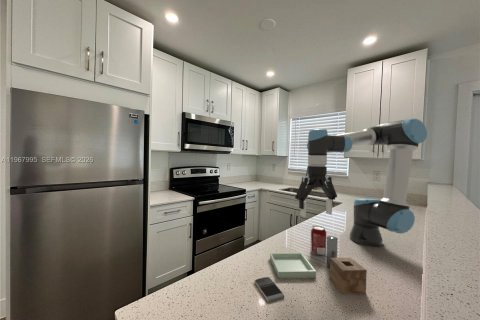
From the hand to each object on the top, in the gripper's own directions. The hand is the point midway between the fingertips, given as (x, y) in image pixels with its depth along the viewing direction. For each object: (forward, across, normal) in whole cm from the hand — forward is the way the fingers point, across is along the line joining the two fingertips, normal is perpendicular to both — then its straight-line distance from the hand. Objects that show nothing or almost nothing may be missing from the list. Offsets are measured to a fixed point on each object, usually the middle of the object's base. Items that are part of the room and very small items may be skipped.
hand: (316, 215), depth 83 cm
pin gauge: (+20, -4, +5) cm, 21 cm away
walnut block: (+20, 0, +16) cm, 26 cm away
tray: (+20, +13, 0) cm, 24 cm away
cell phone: (+21, +28, +10) cm, 36 cm away
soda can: (+20, -7, -6) cm, 23 cm away
